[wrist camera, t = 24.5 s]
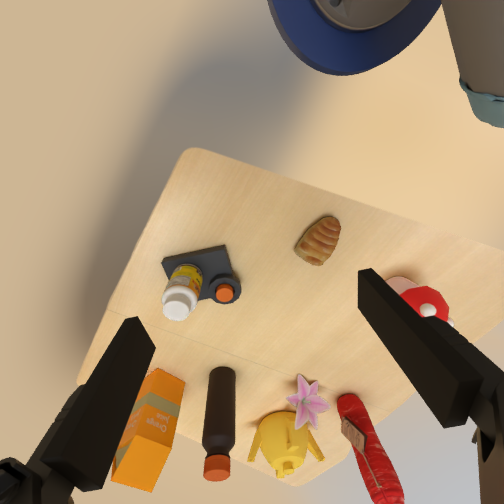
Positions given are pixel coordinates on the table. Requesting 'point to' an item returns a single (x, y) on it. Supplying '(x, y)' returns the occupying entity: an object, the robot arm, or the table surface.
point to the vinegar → (219, 424)
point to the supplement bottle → (182, 292)
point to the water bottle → (369, 452)
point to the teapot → (283, 443)
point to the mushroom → (421, 298)
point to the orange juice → (149, 432)
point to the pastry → (319, 241)
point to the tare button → (224, 292)
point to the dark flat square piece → (207, 270)
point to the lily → (307, 403)
